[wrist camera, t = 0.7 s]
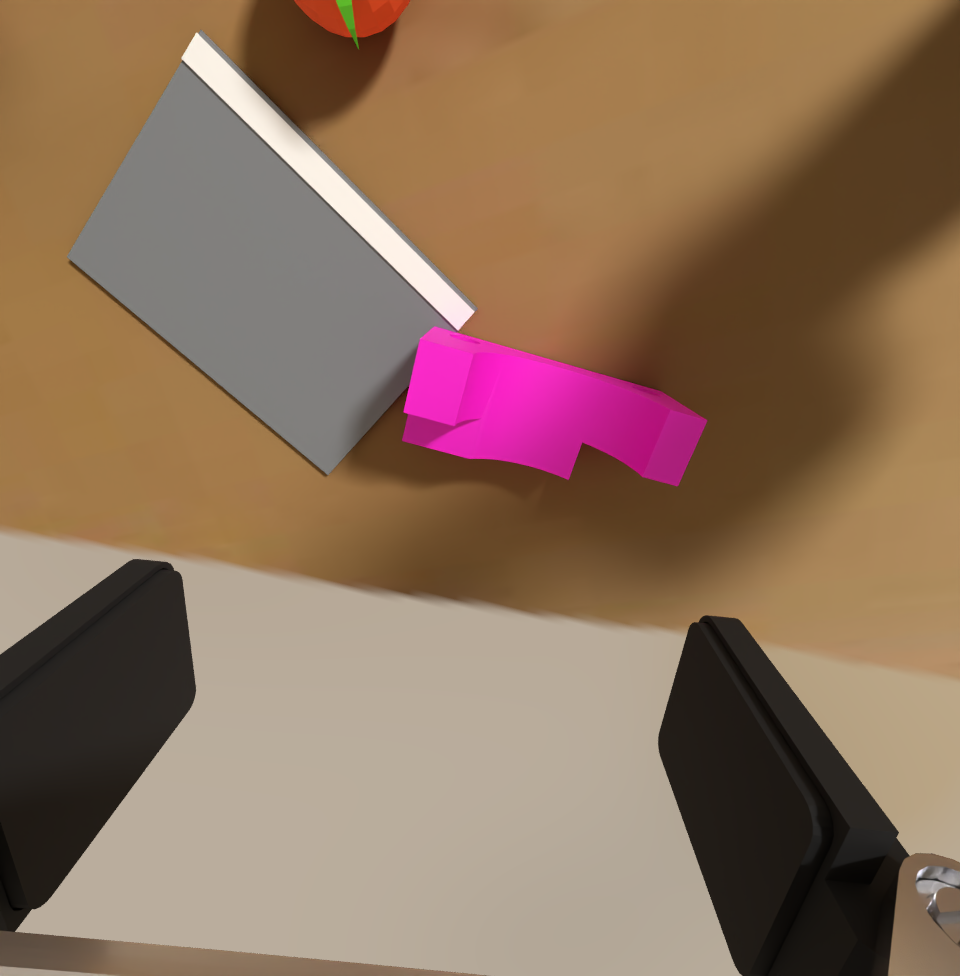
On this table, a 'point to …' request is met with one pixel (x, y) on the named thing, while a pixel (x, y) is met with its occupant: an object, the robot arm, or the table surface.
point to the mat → (264, 261)
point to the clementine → (353, 15)
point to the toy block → (540, 410)
